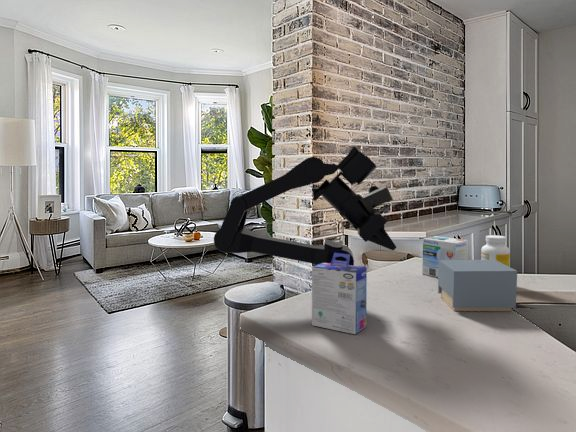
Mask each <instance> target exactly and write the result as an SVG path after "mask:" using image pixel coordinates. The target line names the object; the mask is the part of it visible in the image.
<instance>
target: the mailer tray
mask: <svg viewBox="0 0 576 432" xmlns="http://www.w3.org/2000/svg"><path fill="white" fill-rule="evenodd" d="M440 294H441V295H440V298H441V299H442V300H443V302H444V303H445V304H447V305H448V307H450V308H451V309H452V310H453V312H475V311H476V312H511V311H512V308H453V307H452V299H453V298H452V297H451V296H450V295H449V294H448V293H447V292H445V291H444V290H443V289H442V288H441V293H440Z"/></svg>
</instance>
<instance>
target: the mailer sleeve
mask: <svg viewBox="0 0 576 432" xmlns="http://www.w3.org/2000/svg"><path fill="white" fill-rule="evenodd" d="M517 285H518V270H516V269H515V268H512V267H510V266H509V267H508V266H506V265H504V264H502V263H500V262H498V261H496V260H481V259H468V260H439V267H438V278H437V294H441V288H442V289H443V290H444V291H445V292H447V293H448V294H449V295H450V296H451V297H452V298H453V299H452V307H453V308H511V309H514V308H515V309H516V308H517Z"/></svg>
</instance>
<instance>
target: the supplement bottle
mask: <svg viewBox="0 0 576 432" xmlns="http://www.w3.org/2000/svg"><path fill="white" fill-rule="evenodd" d="M485 242H486V243H485V244H484V245H483V246H482V247H481V249H480V250H481V252H480V260H496V261H498V262H500V263H502V264H504V265H506V266H508V267H510V264H511V263H510V262H511V261H510V258H511V257H510V256H511V255H510V253H511V252H510V251H511V250H510V248H509V247H508V246H506V245H505V244H506V242H507V237H506V236H505V235H498V234H497V235H493V234H492V235H490V234H489V235H485Z"/></svg>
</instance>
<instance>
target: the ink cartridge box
mask: <svg viewBox="0 0 576 432" xmlns="http://www.w3.org/2000/svg"><path fill="white" fill-rule="evenodd" d="M336 257H344V258H346V259H347V260H346V261H340V260H335V258H336ZM349 260H350V254H343V253H334V255H333V258H332V262H331V263H321V264H318V265H313V266H311V325H312V326H313V327H314V326H315V327H319V328H324V329H329V330H333V331H338V332H341V333H347V334H351V335H357V334H358V333H359V332H361V331H362V330H364V329H365V328H367V322H368V321H367V305H368V304H367V297H368V296H367V293H368V292H367V287H368V286H367V285H368V283H367V281H368V280H367V279H368V278H367V275H368V273H367V272H368V271H367V269H368V268H367V266H363V265H362V266H361V265H355V264H354V265H349Z"/></svg>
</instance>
